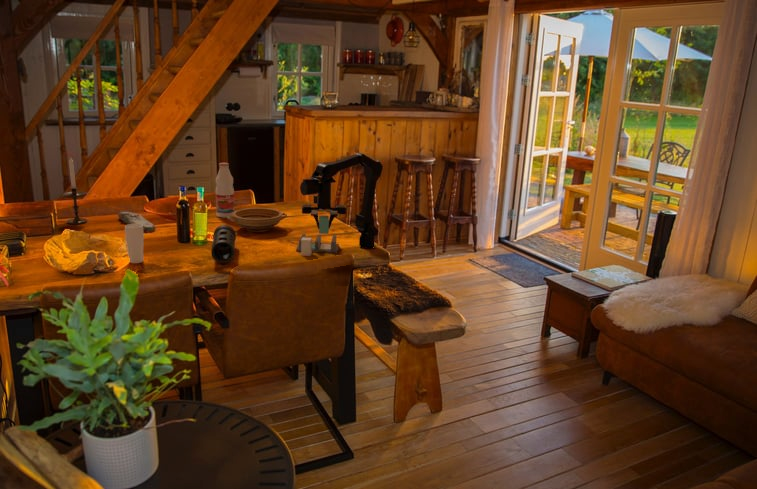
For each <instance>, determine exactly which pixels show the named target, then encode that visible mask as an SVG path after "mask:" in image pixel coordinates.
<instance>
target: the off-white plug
mask: <svg viewBox="0 0 757 489" xmlns="http://www.w3.org/2000/svg"><path fill="white" fill-rule="evenodd" d="M312 243H313V237H306V238H305V237H303V238H302V239H301V252H300V256H301V257H302V256H303V257H304V256H307V257H311V256H312V253H313V252H312Z"/></svg>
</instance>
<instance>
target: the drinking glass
mask: <svg viewBox="0 0 757 489" xmlns="http://www.w3.org/2000/svg"><path fill="white" fill-rule="evenodd" d="M144 233H145V232H143V225H141V224H126V225H125V226H124V236H125V243H126V247H127V254H128V259H129V258H130V262H129V263H131V264H140V263H143V262H144V242H145V240H144V238H145V237H144V236H145V235H144Z"/></svg>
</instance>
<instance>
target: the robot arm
mask: <svg viewBox="0 0 757 489" xmlns="http://www.w3.org/2000/svg"><path fill="white" fill-rule="evenodd" d="M358 165H360V166H361V167H362V168H363V174H364V178H365V182H364V191H363V197H362V204H361V210H360V212H359V214H355V220H354V224H355V227H356V229H357V230H358V233H360V235H359V248H360V249H369V248H373V247H374V245H375V246H376V244H375V241H376V238H375V236H378V234H379V232H380V231H379V230H378V228H377V227H376V226H375V218H374V215H373V209H374V203H375V202H374V201H375V195H376V189H377V183H378V180H379V179H380V178H381V176H382V172H383V167H384V166H383V164H382V163H381V162H380V161H377V160H374V159H372V158H370V157H369V156H368V155H366V154H365V153H361V152H356V153H354V154H351V155H349V156H346V157H343V158H341V159H338V160H335V161H324V162H319V163H317V165H316V168H315V170H314V171H313V172H312V174H311V176H310V178H302V181H301V184H300V186H299V191H300V194H301V195H302V196H312V195H313V204H315V205H316V206H312V204H302V206H301V214H303V215H310V216H311V217H313V218H314V220H315V223H316V227H317V230H319V213H318V212H325V213H326V212H329V230H330V229H331V225H332V224H333V220H334V219H335V218H336V217H338V215H347V207H346V205H344V204H337V205H336V206H332V183H336V182H337V181H336V180H335V178H334V176H337V174H338V173H339V172H341V171H344V170H346V169H349V168H352V167H355V166H358ZM374 248H375V247H374Z"/></svg>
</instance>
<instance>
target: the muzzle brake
mask: <svg viewBox="0 0 757 489" xmlns="http://www.w3.org/2000/svg"><path fill="white" fill-rule="evenodd" d="M236 234H237V233H236V231H235V229H234V228H233V227H232V226H230V225H229V224H228V225H227V224H221V225H219V226H217V227H216V228H215V229H214V231H213V236H212V245H211V252H210V254H211V257H212V259H213V260H214V261H215V262H217V263H220V264H221V265H222V266H225V265H226V264H227V263H229V262H231V261H232V260H233V258H234V256H235V246H236V245H235V244H236V239H237V238H236V237H237V235H236Z"/></svg>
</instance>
